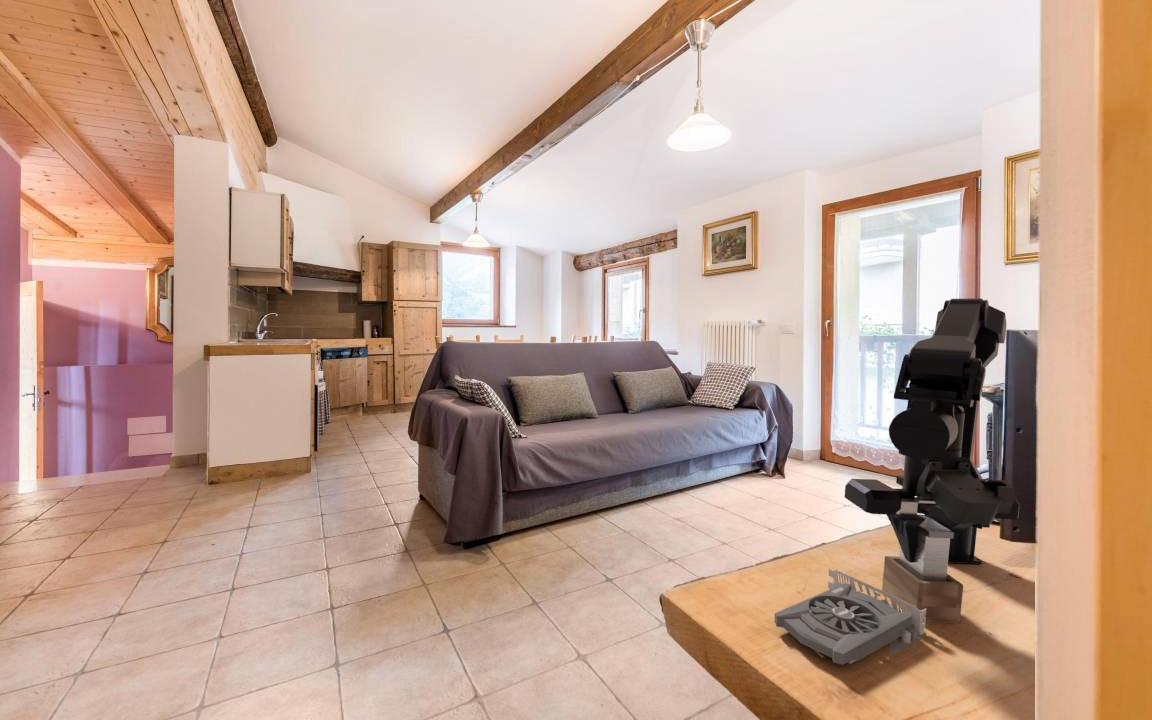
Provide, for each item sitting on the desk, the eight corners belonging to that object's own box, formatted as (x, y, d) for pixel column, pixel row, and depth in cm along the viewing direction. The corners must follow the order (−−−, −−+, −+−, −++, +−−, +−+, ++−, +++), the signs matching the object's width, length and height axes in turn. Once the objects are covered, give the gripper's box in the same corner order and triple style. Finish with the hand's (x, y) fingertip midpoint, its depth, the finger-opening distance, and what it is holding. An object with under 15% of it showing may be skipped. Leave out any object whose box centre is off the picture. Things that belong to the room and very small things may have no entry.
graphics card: (833, 564, 68) (930, 607, 57) (832, 590, 68) (928, 637, 58) (751, 596, 59) (846, 653, 49) (750, 625, 60) (845, 688, 49)
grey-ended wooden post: (895, 570, 66) (900, 513, 65) (918, 571, 66) (923, 514, 65) (923, 592, 60) (929, 531, 60) (948, 593, 60) (953, 532, 60)
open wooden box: (921, 592, 67) (924, 557, 66) (959, 623, 60) (963, 585, 59) (882, 590, 67) (884, 556, 66) (915, 621, 60) (919, 583, 60)
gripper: (900, 460, 54) (888, 593, 55) (1070, 466, 53) (1055, 600, 55) (846, 436, 65) (838, 547, 66) (987, 441, 64) (976, 553, 66)
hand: (922, 561), depth 63 cm, fingers open, 3 cm apart
